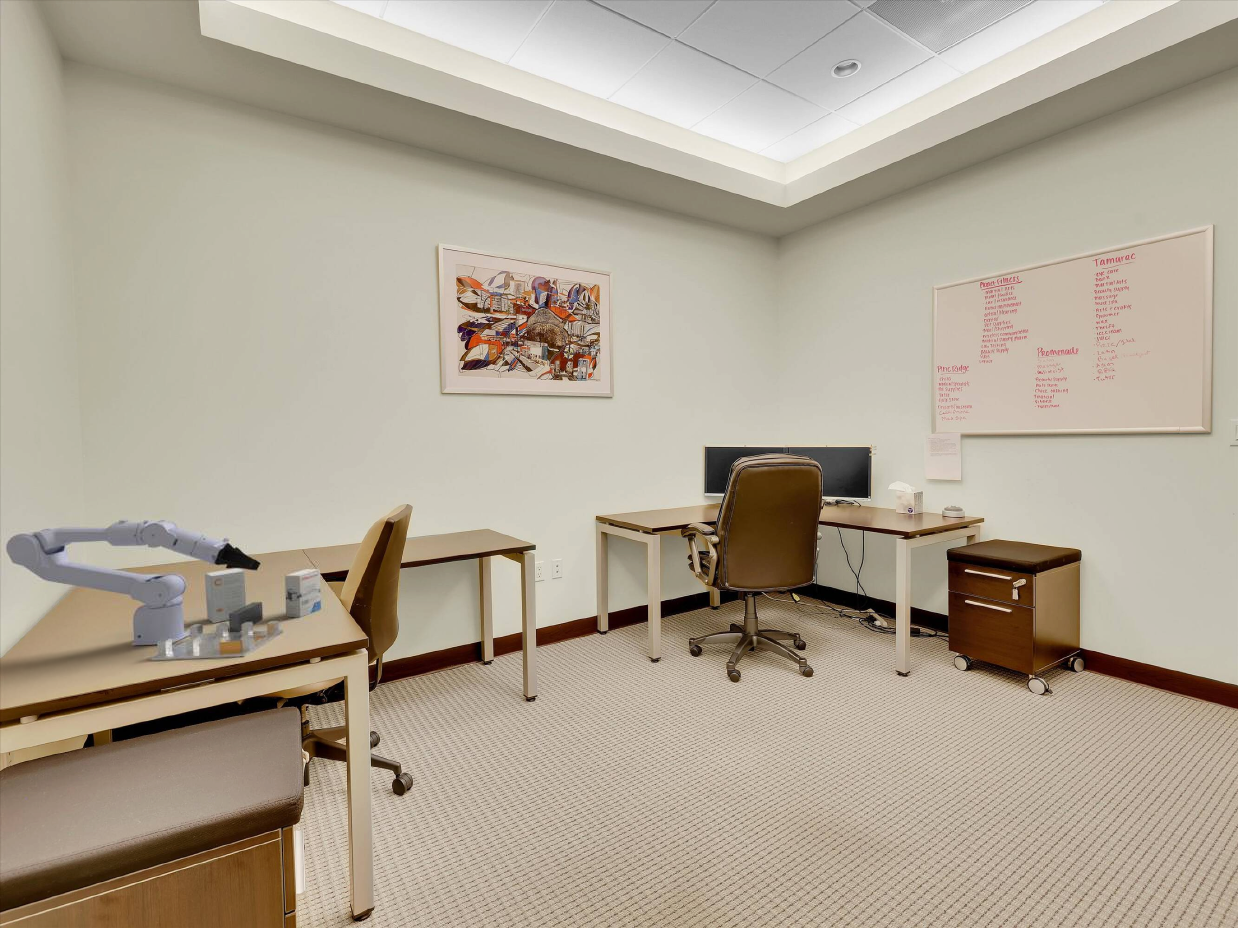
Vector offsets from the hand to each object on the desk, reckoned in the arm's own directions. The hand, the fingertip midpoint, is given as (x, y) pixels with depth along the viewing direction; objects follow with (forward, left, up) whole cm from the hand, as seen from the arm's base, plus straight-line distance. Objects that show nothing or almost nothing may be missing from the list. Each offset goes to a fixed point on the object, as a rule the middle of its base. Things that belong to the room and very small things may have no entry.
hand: (255, 565), depth 150 cm
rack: (-3, -10, -17) cm, 20 cm away
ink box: (+4, +16, -17) cm, 24 cm away
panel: (-6, +6, -17) cm, 19 cm away
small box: (-16, +14, -17) cm, 28 cm away
